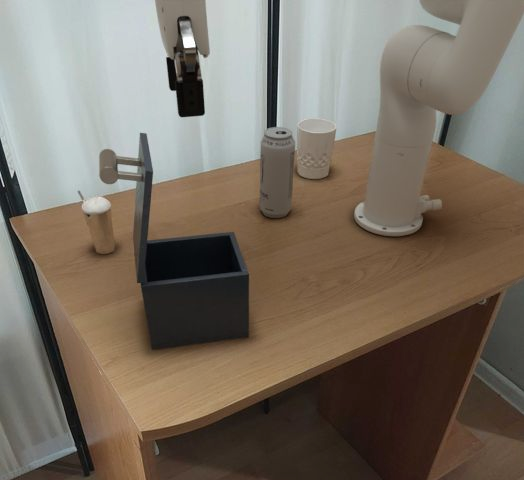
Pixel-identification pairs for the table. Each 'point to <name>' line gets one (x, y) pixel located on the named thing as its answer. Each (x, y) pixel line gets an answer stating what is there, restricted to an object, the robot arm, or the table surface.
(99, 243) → the milkshake
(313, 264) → the table surface
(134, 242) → the lid
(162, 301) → the bin
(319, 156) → the white cup
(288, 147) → the energy drink can
